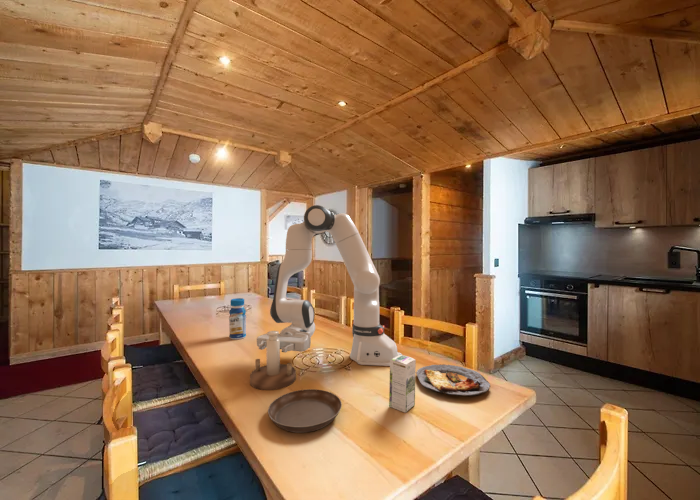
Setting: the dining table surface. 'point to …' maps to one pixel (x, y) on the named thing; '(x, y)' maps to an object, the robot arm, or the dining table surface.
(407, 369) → the syrup box
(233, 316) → the beverage bottle
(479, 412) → the dining table surface
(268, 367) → the bud vase
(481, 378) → the food plate
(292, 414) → the plant saucer
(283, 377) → the pedestal
